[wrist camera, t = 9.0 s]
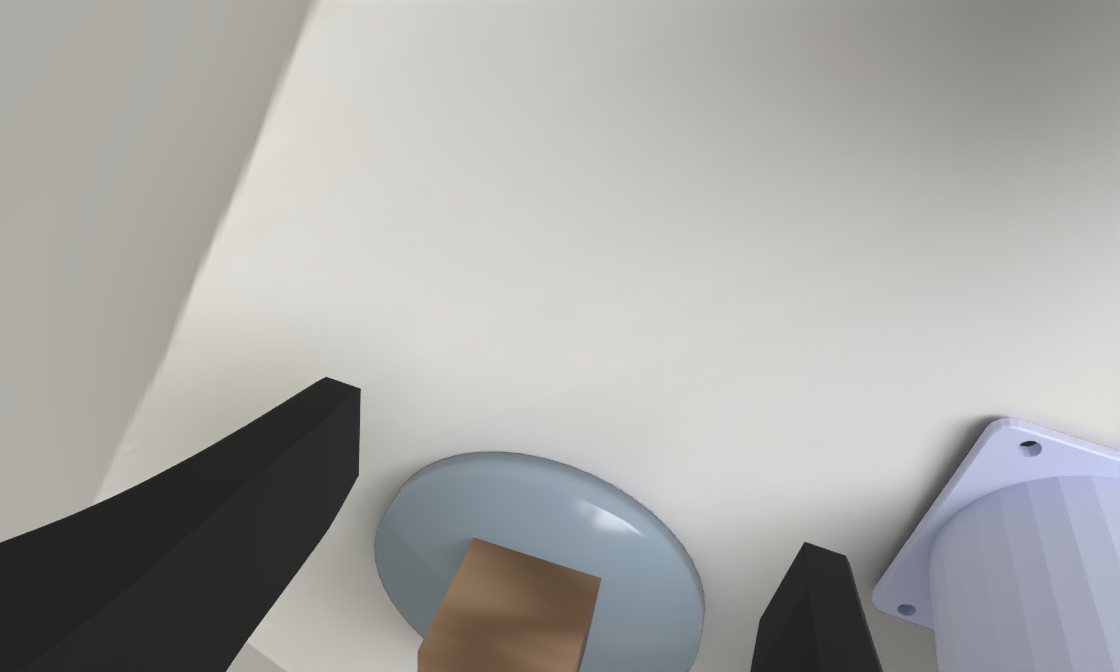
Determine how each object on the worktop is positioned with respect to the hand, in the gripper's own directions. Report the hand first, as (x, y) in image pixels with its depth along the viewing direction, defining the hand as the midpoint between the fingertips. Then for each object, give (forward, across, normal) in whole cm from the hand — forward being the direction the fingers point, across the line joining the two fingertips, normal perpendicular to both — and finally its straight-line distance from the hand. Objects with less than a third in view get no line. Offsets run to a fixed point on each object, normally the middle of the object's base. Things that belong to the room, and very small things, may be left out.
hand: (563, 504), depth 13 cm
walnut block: (+8, +1, +15) cm, 17 cm away
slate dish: (+9, +1, +15) cm, 18 cm away
